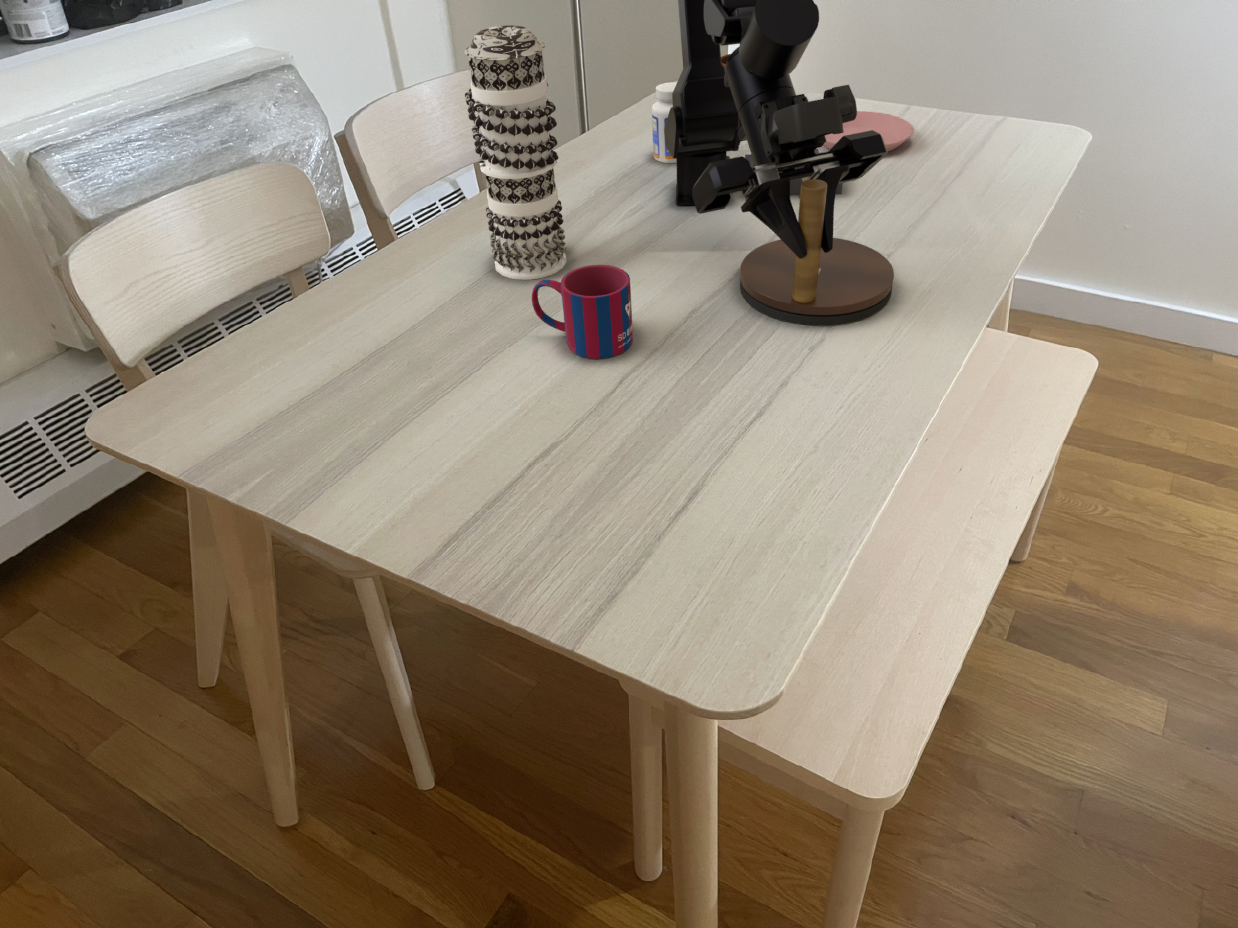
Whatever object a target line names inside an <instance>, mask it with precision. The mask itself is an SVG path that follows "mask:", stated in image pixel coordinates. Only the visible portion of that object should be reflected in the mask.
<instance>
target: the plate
mask: <svg viewBox="0 0 1238 928" xmlns="http://www.w3.org/2000/svg"><path fill="white" fill-rule="evenodd" d="M843 130H844V132H843V133H841V134H828V135H825V138H826V142H825V143H824V144H823V145H822V146H824V147H825V148H827V149H828V150H830V149H831V148H832V147H833V146H834V145H835V144H836V143H837V142H838V141H839V140H840V139H841V138H842V137H843V136H846V135H851V134H856V133H861V132H866V131H871V130H873V131H875V132H877V133H879V134H881V136H882V137H883V140H884V143H885V146H886V149H887V152H888V153H889V152H891V151H893V150H895V149H897V148H898V147H899V146H901V145H902V144H903V143H905V142H907V140H909V139H910V138H911V137H912V136H913V135H914V132H915V129H914V126H913V125H912V123H910V122H909V121H908V120H906V119H904V118H902V117H899V116H897V115H893V114H890V113H884V112H879V111H868V110H867V111H865V110H864V111H863V110H862V111H861V110H857V116H856V118H855V120H853V121H850V122H846V123H843Z"/></svg>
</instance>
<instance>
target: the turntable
mask: <svg viewBox="0 0 1238 928" xmlns="http://www.w3.org/2000/svg"><path fill="white" fill-rule="evenodd" d="M826 194H827V183H826V182H825V181H822V180H817V179H810V180H805V181H803V182H802V183H801V191H800V199H799V204H798V205H799V206H798V215H797V220H798V223H799V226H800V229H801V232H802V234H803V237H804V241H805V245H806V249H807V256H806V257H804V258H802V259H799V258H798V257H797V256H796V255H795V254H794V253H793V251H792V250H791V249H790V248H789V247H788V246H787V245H786V244H785V243H784V242H783V241H782V240H781V239H776V240H772V241H770V242H766V243H764V244H762V245H760V246H758V247H756V248H754V249H752V250H751V251H750V252H748V254H747V255H746V256H745V257H744V258H743V259H742V262H741V264H740V269H739V270H740V271H739V280H740V279H741V283H742V285H743V287H744V289H745V290H746V291H747V292H748V293H749V294H750V295H751V296H752V297H754V298H755V299H756V300H758V301H760V302H762V303H764V304H766V305H768V306H771V307H774V308H777V309H780V310H784V311H788V312H793V313H798V314H807V315H837V314H845V313H851V312H855V311H859V310H862V309H865V308H868V307H870V306H873V305H875V304H877V303H878V302H880V301H881V300H883V299H884V298H885V297H886V296H887V295H888V293H889V292H890V291H891V288H892V289H893V286H894V285H893V284H894V278H895V273H894V272H895V271H894V267H893V265H892V263H891V262H890V260H889V259H888V258H886V257H885V256H884V255H883V254H882V253H880V252H879V251H877V250H875V249H873V248H871V247H869V246H867V245H865V244H862V243H859V242H856V241H852V240H848V239H844V238H839V237H833V248H832V250H831V251H829V252H827V253H825V252H824V251H823V249H822V248H821V243H822V233H823V223H824V213H825V203H826Z"/></svg>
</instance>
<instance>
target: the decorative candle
mask: <svg viewBox="0 0 1238 928" xmlns="http://www.w3.org/2000/svg"><path fill="white" fill-rule="evenodd" d="M545 48H546V43H545V42H544V41H542V40H539V39H538V38H537V36H536V35H535V33H534V32H533V31H532V30H531V29H529V28H528V27H526V26H523V25H522V26H521V25H509V24H508V25H497V26H492V27H486V28H484V29H481V30H480V31H478V32H477V33H476V34H475V35H474V36H473V38H472V40H471V43H470V45H469V46H468V47H467V48H465V49H464V55H466V56H467V60H468V65H469V66H468V67H469V72H470V79H471V80H469V84H470V88H469V89H468V91H467V92H465V93H464V97H465V102H466V105H467V106H468V107H467V109H466V110H467V113H468V114H467V115H468V117H467V118H468V119H469V120H470V121H472V122H473V124H474V125H472V127H471V132H472V133H473V134H472V139H473V140H474V144H473V145H474V146H475V148H474V152H475V153H476V154H477V155H479V159H478V163H479V168H480V172H482V173H483V174H484V175H485V183H486V187H487V190H486V199H487V205H488V206H486V208H485V212H486V217H487V219H489V220H488V221H487V225H488V230H489V232H492V233H491V234H490V236H489V240H490V247H491V248H492V249H491V252H492V253H491V254H492V255H491V256H492V259H493V260H494V268H495V271H496V272H497V273H498V274H500V275H501V276H502V277H505V278H508V279H512V280H520V281H521V280H522V281H528V280H538V279H543V278H546V277H549V276H552V275H555V274H556V273H558V272H559V271H560V270H563V269H564V268H565V265H566V264H567V262H568V261H567V256H566V251H567V247H566V242H565V241H564V240H565V239H566V235H565V234H564V233H565V229H564V228H563V227H561V225H563V224H564V219H563V214H562V213H561V212H562V210H563V205H562V201H561V200H560V199H559V193H558V187H557V184H556V181H555V178H556V177H555V170H554V168H555V167H556V165H558V160H559V155H558V153H557V151H555V150H553V149H554V148H555V147H556V146H557V145H558V140H557V138H556V137H555V136H554V135H552V134H551V133H550V131H552V130H553V129H555V128H556V127H557V126H558V123H557V122H558V121H556V118H554V117H553V116H551V115H552V113H554V112H556V109H557V107H556V105H555V104H554V102H552V101H550V100H549V99H548V98H546V95H547V93H548V91H549V88H548V87H549V83H548V78H547V75H546V73H545V71H544V70H545V69H544V66H545V65H544V57H543V50H544V49H545ZM476 112H477V115H476Z"/></svg>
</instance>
